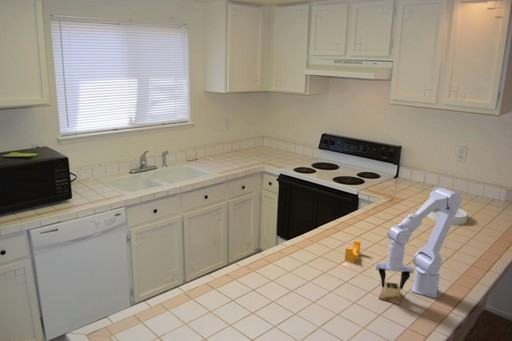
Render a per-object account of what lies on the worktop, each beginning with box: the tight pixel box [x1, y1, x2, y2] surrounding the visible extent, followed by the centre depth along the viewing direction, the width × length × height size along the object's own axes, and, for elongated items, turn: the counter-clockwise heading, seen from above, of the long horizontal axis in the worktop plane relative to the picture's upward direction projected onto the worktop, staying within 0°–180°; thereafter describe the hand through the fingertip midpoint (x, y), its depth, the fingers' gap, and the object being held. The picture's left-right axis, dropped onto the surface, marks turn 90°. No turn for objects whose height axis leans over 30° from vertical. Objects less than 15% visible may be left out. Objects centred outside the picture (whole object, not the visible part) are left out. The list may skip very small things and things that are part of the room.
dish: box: [426, 207, 468, 226], centre depth 265 cm, size 22×22×5 cm
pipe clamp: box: [344, 239, 362, 264], centre depth 208 cm, size 12×4×6 cm, turn 146°
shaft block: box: [378, 286, 403, 305], centre depth 174 cm, size 8×8×4 cm
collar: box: [382, 281, 401, 299], centre depth 174 cm, size 6×6×4 cm
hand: (391, 287), depth 174 cm, fingers open, 6 cm apart
